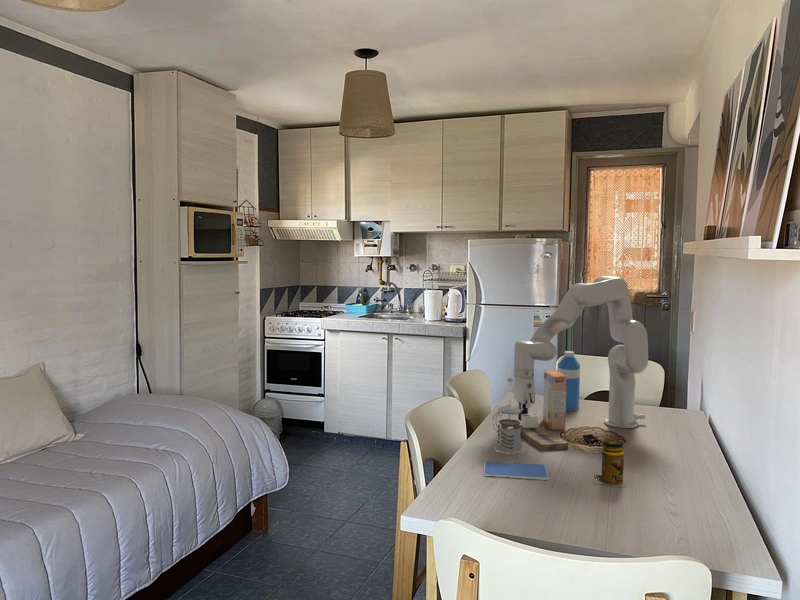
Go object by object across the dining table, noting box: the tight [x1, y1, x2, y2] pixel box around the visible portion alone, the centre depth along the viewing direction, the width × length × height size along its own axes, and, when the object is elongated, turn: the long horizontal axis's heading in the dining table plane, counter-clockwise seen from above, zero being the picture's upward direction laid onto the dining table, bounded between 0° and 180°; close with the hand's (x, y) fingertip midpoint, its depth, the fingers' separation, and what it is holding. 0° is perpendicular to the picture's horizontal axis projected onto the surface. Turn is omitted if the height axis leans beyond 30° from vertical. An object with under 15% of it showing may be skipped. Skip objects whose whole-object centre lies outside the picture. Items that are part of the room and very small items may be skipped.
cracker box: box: [542, 369, 567, 431], centre depth 234 cm, size 14×6×21 cm, turn 179°
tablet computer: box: [483, 461, 550, 481], centre depth 183 cm, size 19×13×1 cm, turn 81°
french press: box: [492, 377, 524, 455], centre depth 204 cm, size 10×12×25 cm
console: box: [512, 424, 569, 451], centre depth 216 cm, size 10×24×2 cm, turn 13°
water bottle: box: [557, 350, 581, 412], centre depth 261 cm, size 9×9×25 cm
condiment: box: [593, 439, 626, 488], centre depth 175 cm, size 7×8×12 cm
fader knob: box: [520, 413, 539, 428], centre depth 224 cm, size 5×4×4 cm
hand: (522, 419), depth 230 cm, fingers closed
